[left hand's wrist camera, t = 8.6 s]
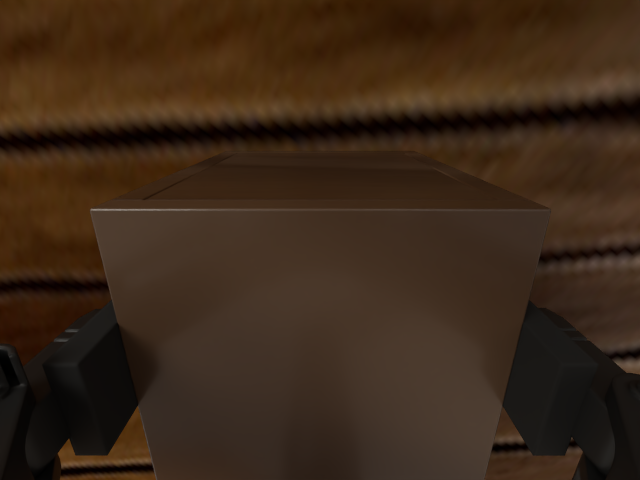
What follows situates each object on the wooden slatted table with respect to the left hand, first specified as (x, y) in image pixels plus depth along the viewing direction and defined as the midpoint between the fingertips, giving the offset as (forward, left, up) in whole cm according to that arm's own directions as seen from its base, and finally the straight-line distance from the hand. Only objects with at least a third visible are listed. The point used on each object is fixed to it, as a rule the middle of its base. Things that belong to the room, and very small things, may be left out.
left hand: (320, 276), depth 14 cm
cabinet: (0, +4, -6) cm, 7 cm away
